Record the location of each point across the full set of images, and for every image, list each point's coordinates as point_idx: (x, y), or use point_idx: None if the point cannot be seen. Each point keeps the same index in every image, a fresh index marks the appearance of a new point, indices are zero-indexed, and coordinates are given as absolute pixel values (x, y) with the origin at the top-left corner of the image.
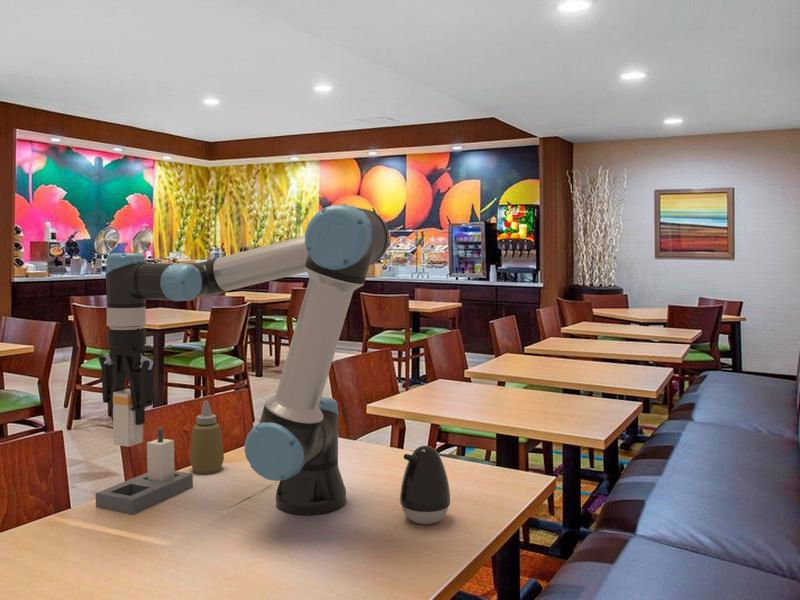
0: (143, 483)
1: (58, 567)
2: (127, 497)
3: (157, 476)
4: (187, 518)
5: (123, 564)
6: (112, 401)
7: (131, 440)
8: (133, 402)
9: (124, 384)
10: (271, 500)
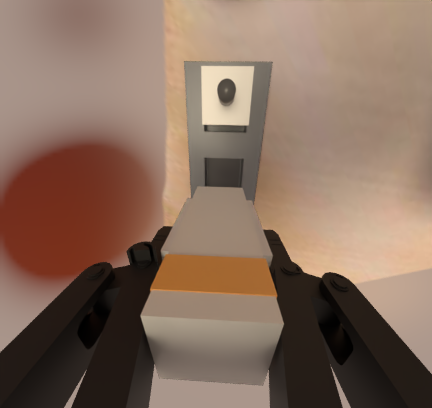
0: (222, 149)
1: None
2: None
3: (232, 125)
4: (311, 170)
5: (304, 263)
6: None
7: None
8: None
9: (133, 390)
10: (427, 48)
